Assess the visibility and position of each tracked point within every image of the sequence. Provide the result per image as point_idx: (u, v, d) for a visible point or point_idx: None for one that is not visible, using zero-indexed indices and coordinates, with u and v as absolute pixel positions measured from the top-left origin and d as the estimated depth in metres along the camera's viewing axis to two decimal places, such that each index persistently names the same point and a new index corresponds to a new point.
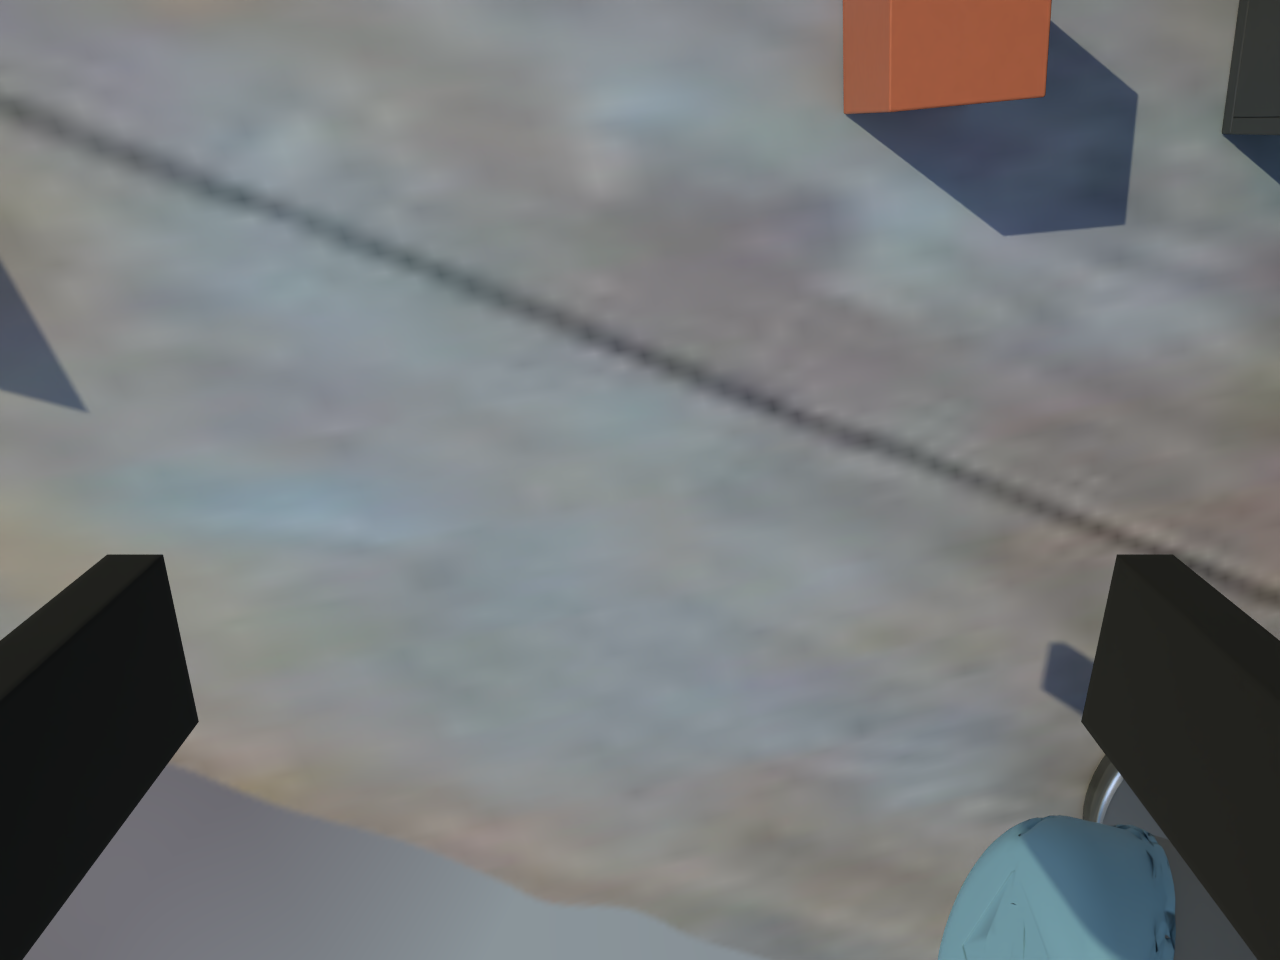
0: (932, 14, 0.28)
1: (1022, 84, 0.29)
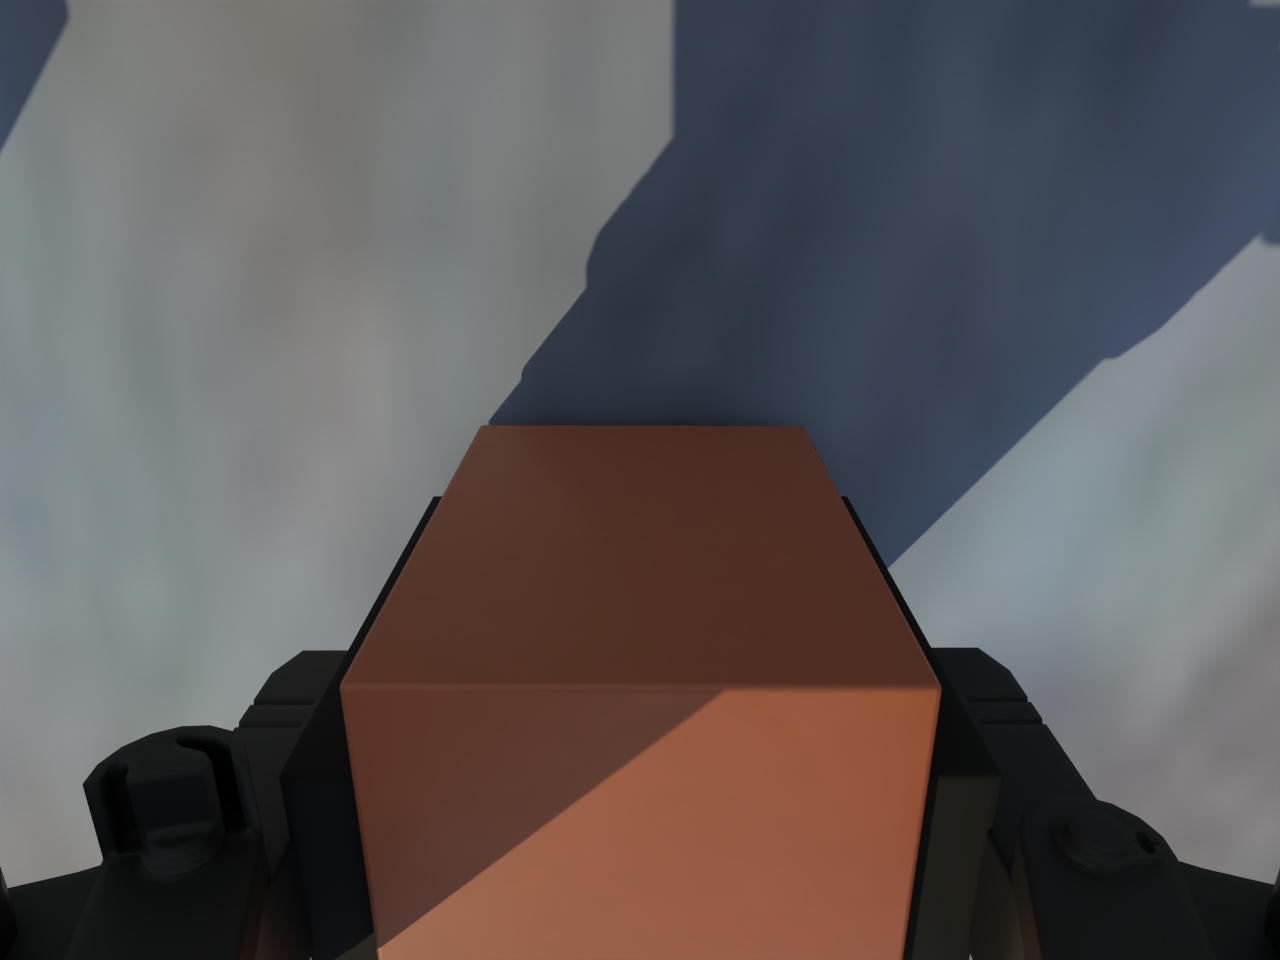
0: None
1: (882, 763, 0.08)
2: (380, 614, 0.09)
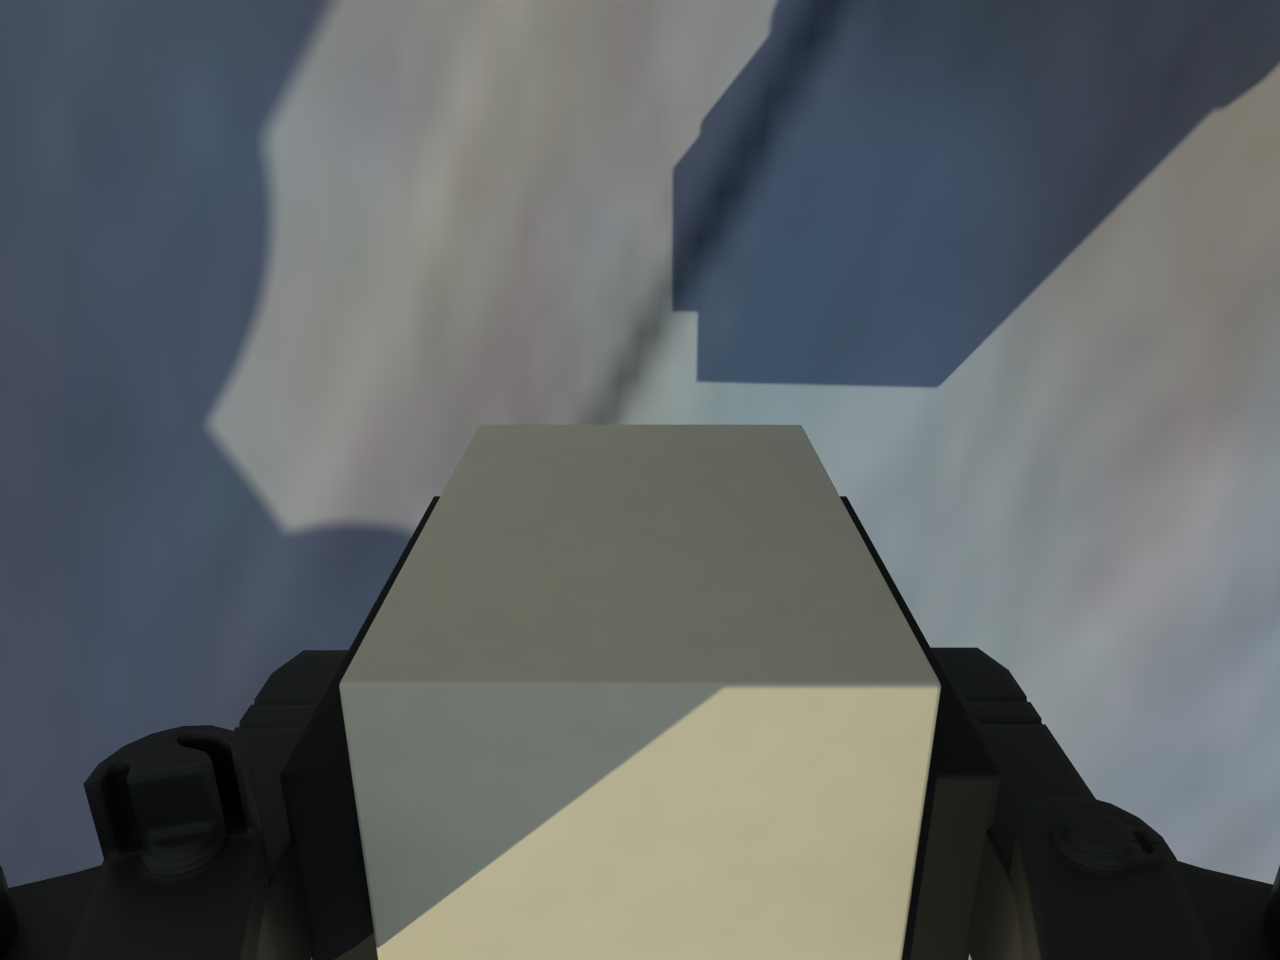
0: None
1: None
2: None
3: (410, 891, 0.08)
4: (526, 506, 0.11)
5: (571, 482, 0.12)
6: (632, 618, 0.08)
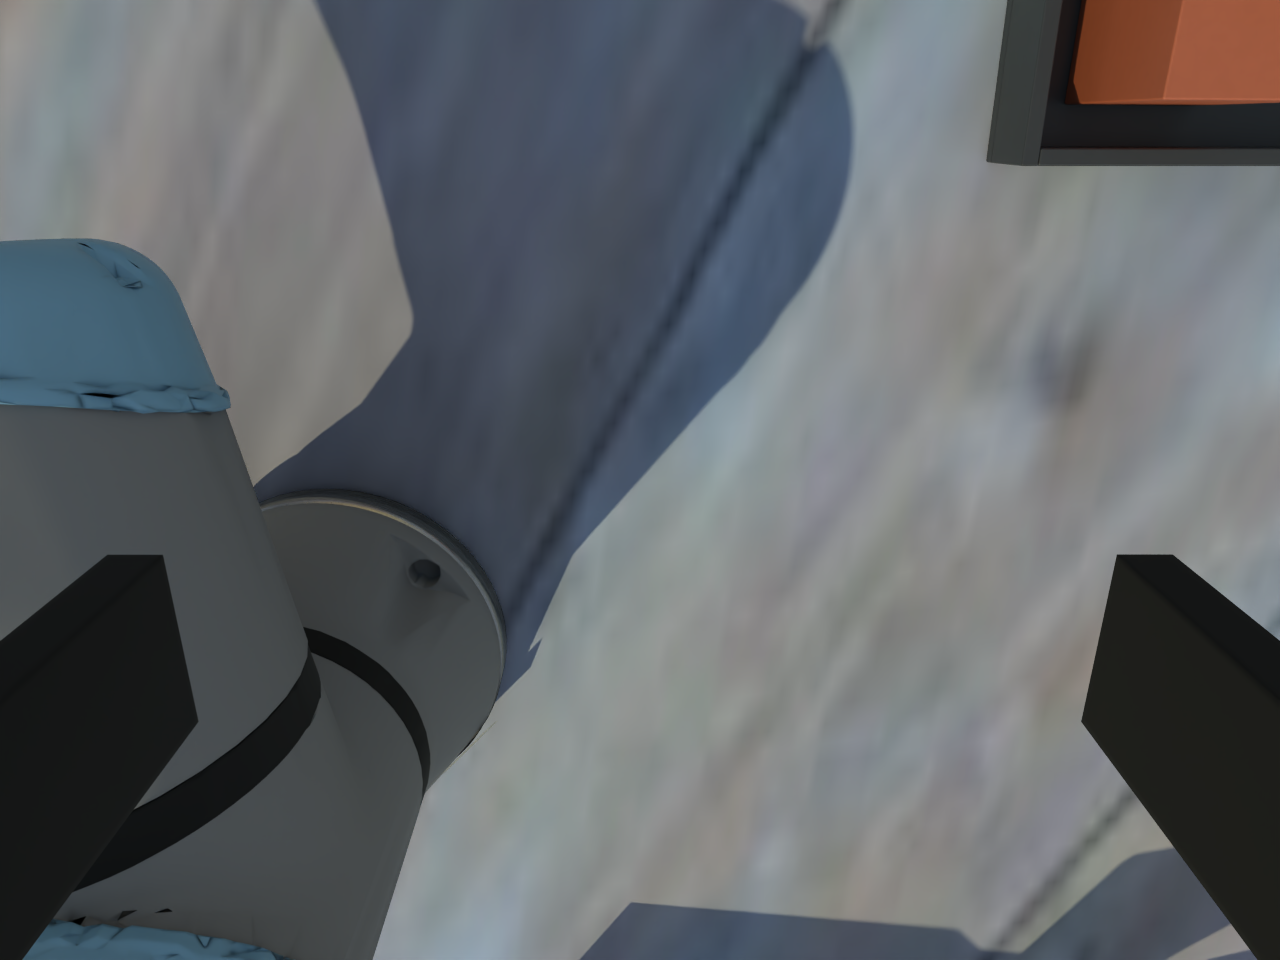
0: (1248, 52, 0.27)
1: None
2: None
3: None
4: None
5: None
6: None
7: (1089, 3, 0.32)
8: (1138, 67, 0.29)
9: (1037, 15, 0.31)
